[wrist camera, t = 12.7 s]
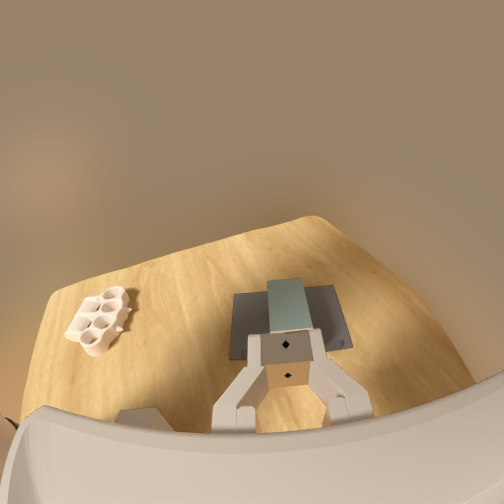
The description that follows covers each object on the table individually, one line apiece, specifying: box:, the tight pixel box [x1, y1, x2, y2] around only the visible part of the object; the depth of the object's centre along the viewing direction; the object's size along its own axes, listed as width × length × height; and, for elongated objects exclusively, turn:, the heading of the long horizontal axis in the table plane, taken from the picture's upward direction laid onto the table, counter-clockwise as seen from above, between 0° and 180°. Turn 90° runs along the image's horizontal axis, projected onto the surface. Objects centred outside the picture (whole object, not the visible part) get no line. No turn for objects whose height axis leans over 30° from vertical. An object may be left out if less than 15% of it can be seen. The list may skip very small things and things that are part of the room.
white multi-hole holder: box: [65, 286, 132, 356], centre depth 52 cm, size 3×18×15 cm
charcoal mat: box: [230, 285, 353, 360], centre depth 49 cm, size 20×16×1 cm
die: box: [115, 407, 175, 431], centre depth 28 cm, size 8×9×10 cm
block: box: [267, 278, 313, 333], centre depth 44 cm, size 6×6×14 cm
